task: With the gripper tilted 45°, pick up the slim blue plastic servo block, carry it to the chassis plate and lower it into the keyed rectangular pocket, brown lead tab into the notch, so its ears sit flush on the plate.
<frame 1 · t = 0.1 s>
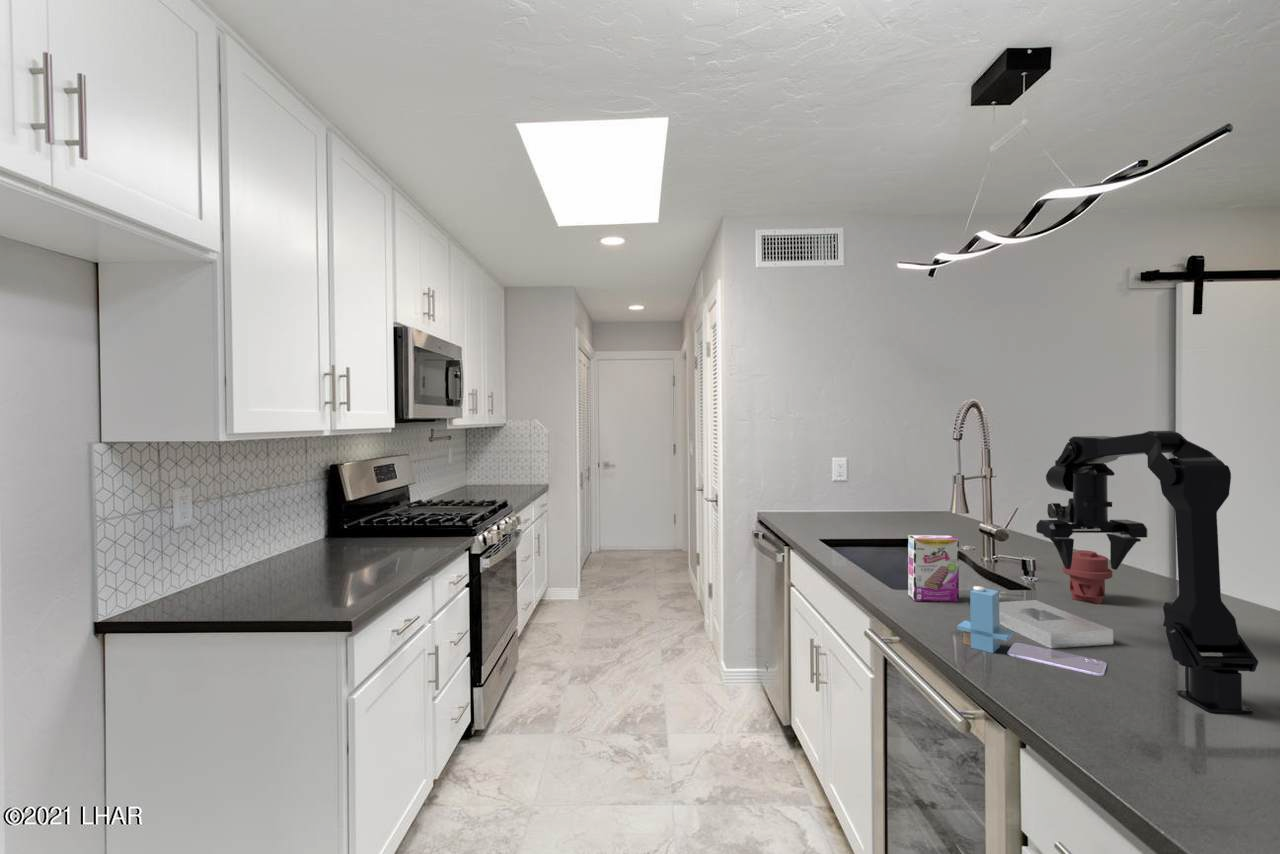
hand: (1090, 569, 121), 15 cm above the worktop, tool pointing down, fingers open, 9 cm apart
candy bar box: (933, 600, 148), on the worktop
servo: (985, 647, 117), on the worktop
mechanical component: (1087, 600, 146), on the worktop
chassis plate: (1042, 628, 126), on the worktop
mobile phone: (1055, 661, 111), on the worktop
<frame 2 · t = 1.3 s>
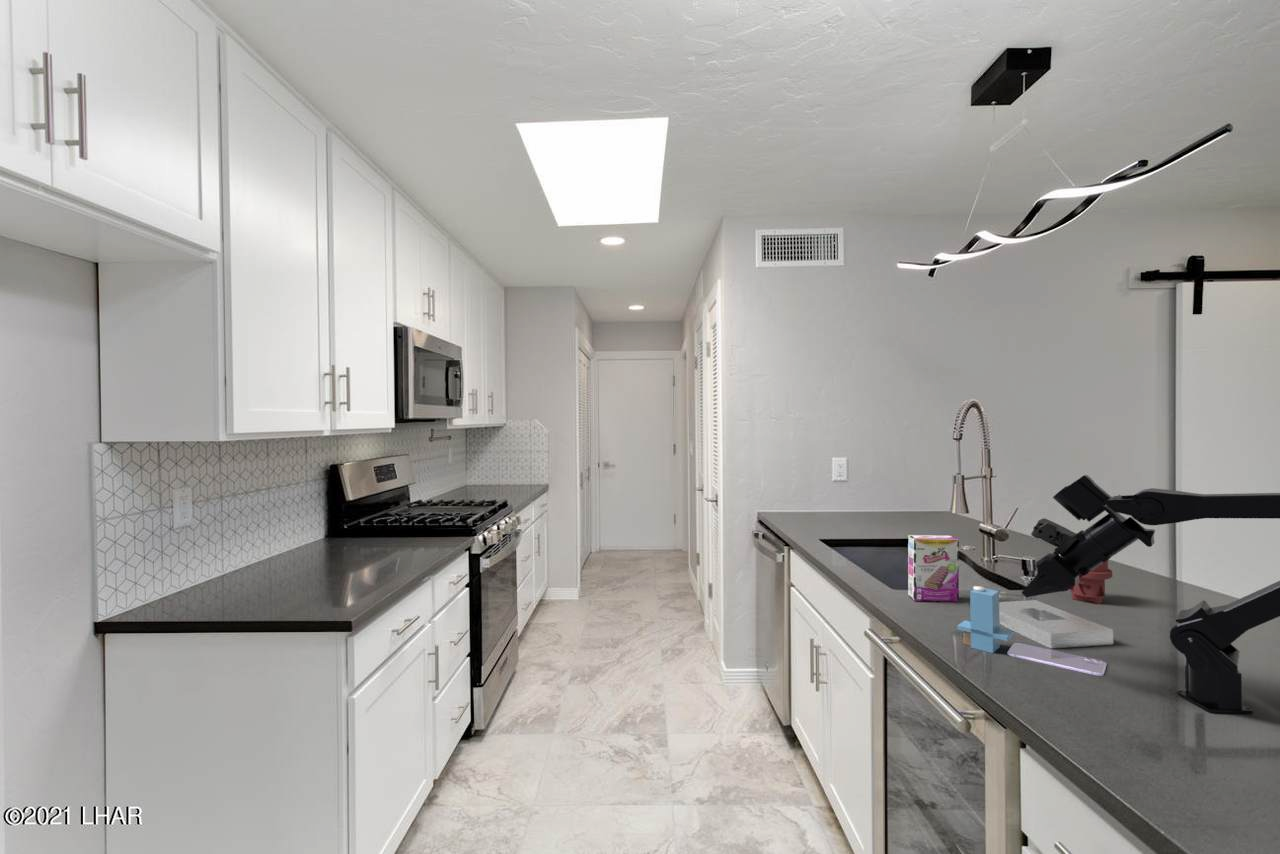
hand: (1030, 589, 111), 13 cm above the worktop, tool tilted 45°, fingers open, 9 cm apart
nothing on the worktop moved.
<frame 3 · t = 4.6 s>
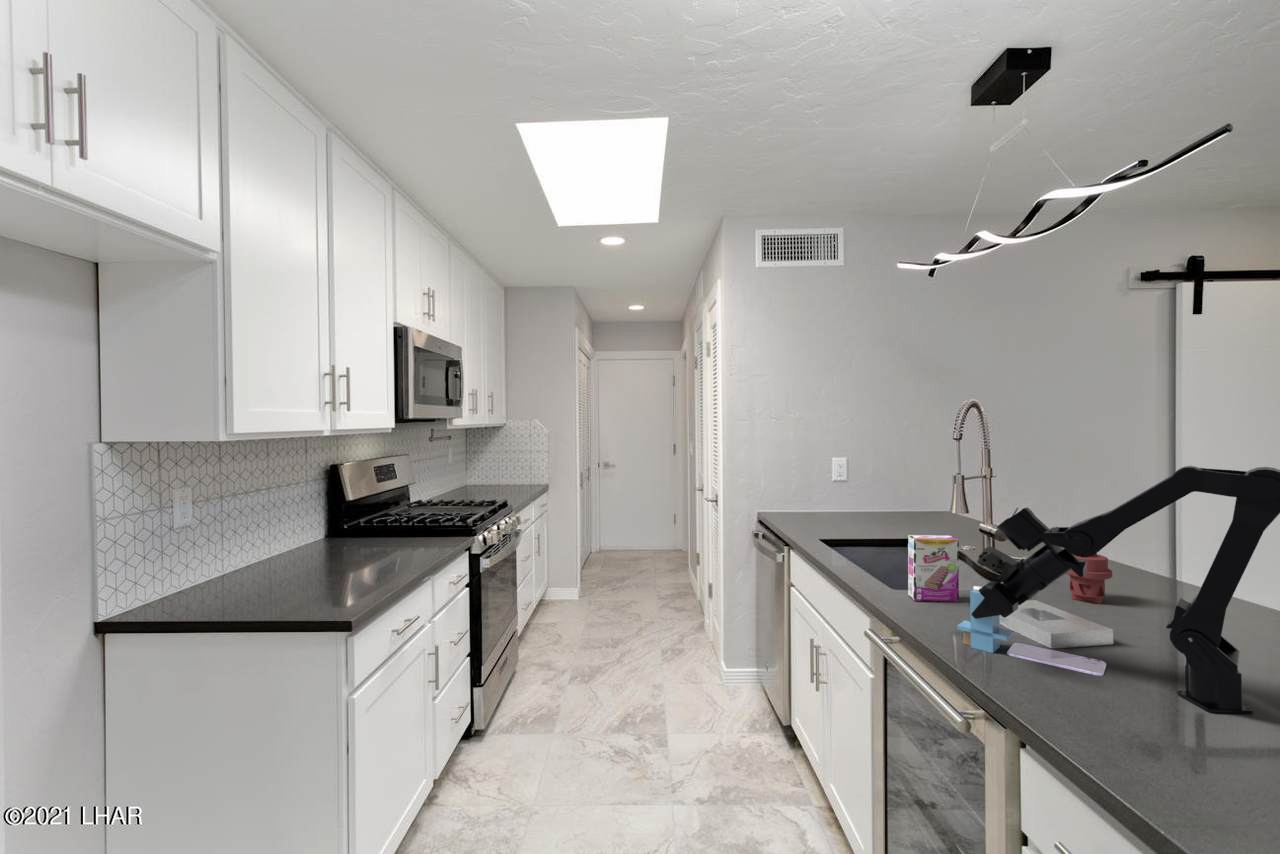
hand: (977, 613, 118), 7 cm above the worktop, tool tilted 45°, fingers closed on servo, 4 cm apart
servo: (985, 647, 117), on the worktop, touching gripper
everything else where it was.
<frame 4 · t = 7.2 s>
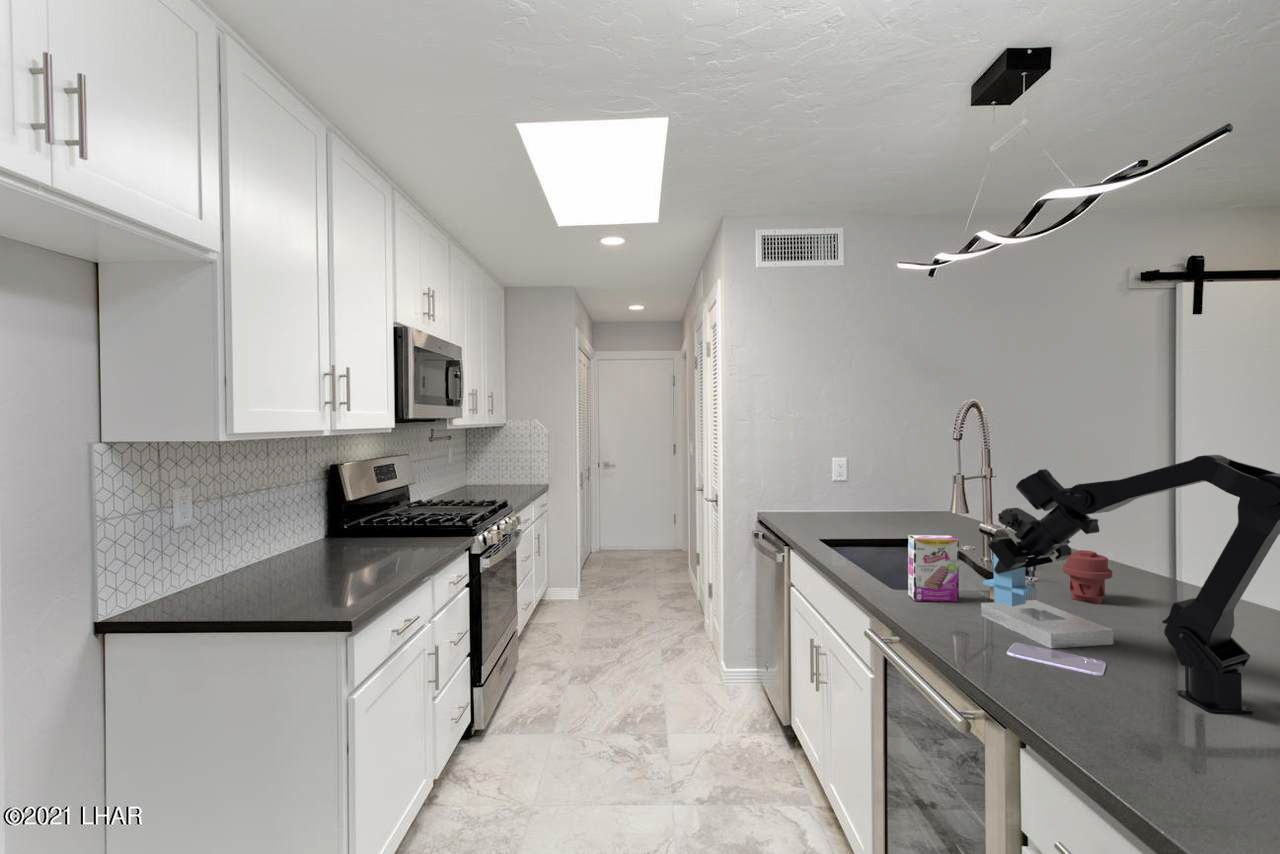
hand: (1003, 570, 125), 14 cm above the worktop, tool tilted 45°, fingers closed on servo, 4 cm apart
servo: (1009, 602, 123), point 7 cm above the worktop, touching gripper
everything else where it was.
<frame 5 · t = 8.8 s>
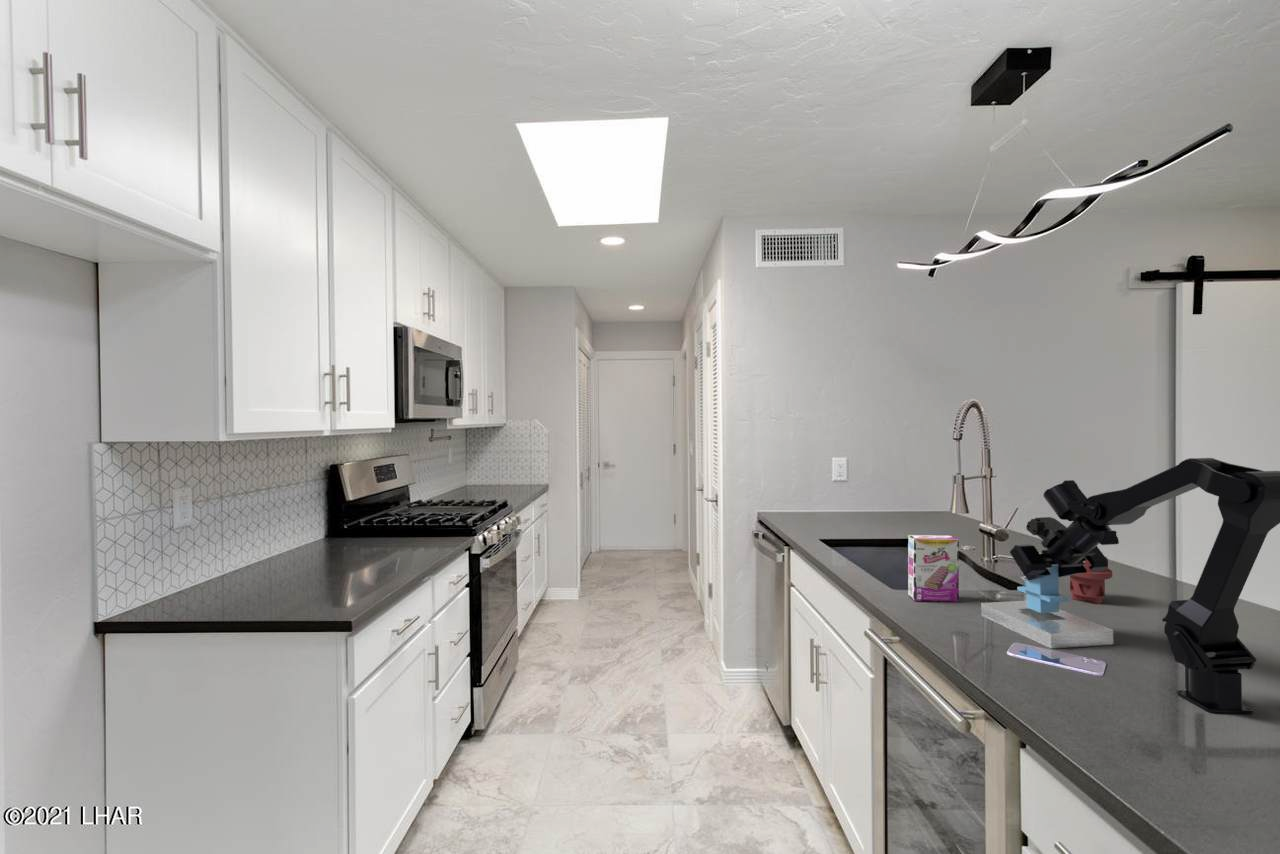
hand: (1037, 578, 128), 11 cm above the worktop, tool tilted 45°, fingers closed on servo, 4 cm apart
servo: (1042, 609, 126), point 4 cm above the worktop, touching gripper
everything else where it was.
when the fingers open (7 cm above the worktop, at t = 10.3 s): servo stays where it is, resting in chassis plate.
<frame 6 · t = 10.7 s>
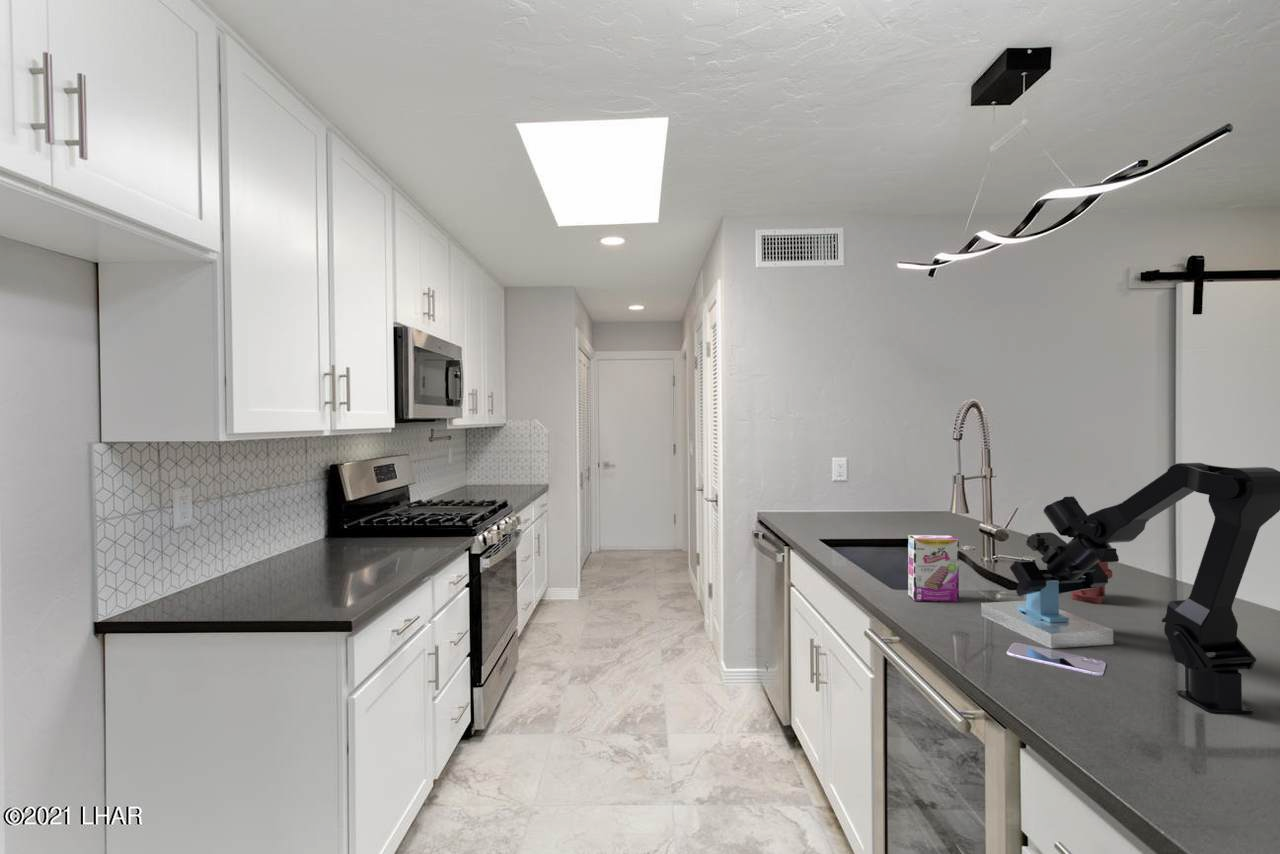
hand: (1037, 593, 128), 8 cm above the worktop, tool tilted 45°, fingers open, 9 cm apart
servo: (1042, 629, 126), resting in chassis plate
everything else where it was.
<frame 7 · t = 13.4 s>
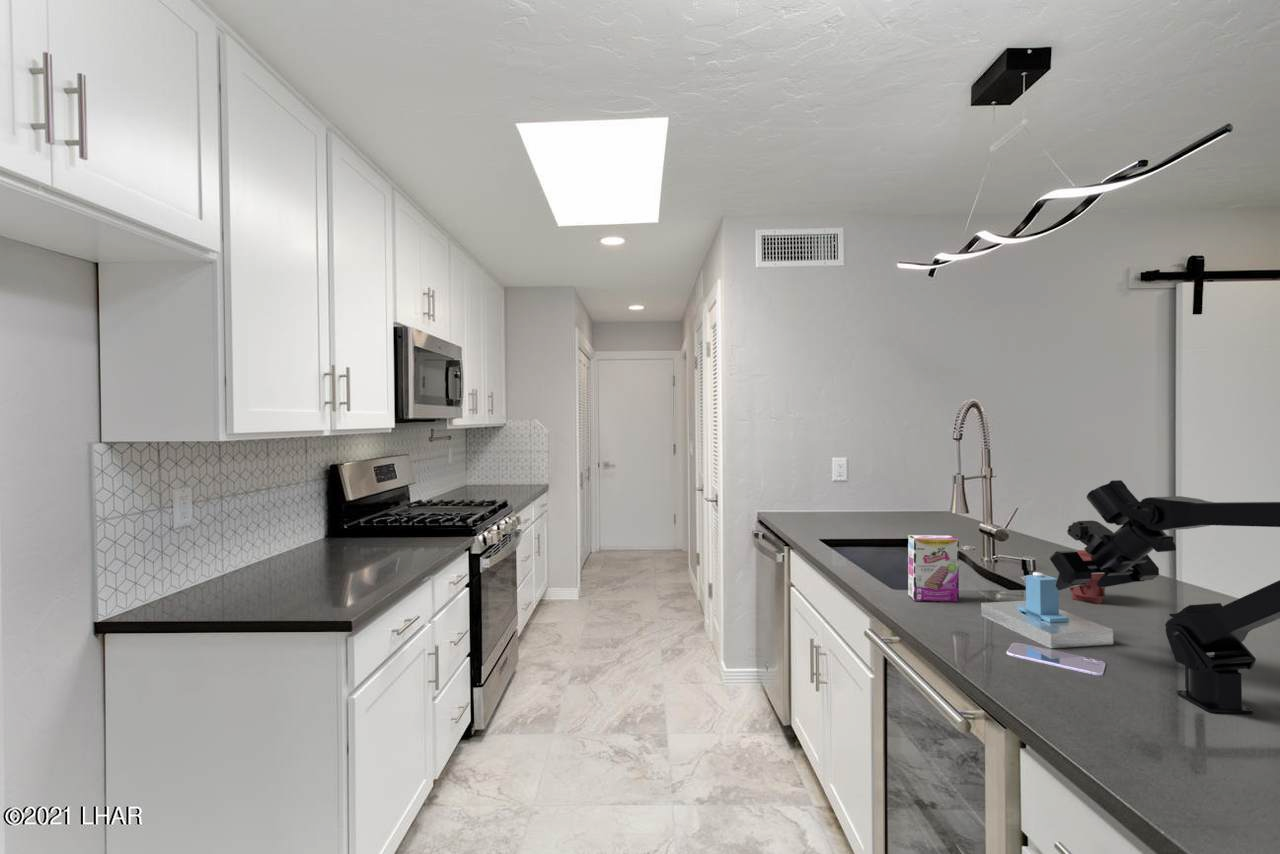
hand: (1078, 587, 117), 12 cm above the worktop, tool tilted 45°, fingers open, 9 cm apart
nothing on the worktop moved.
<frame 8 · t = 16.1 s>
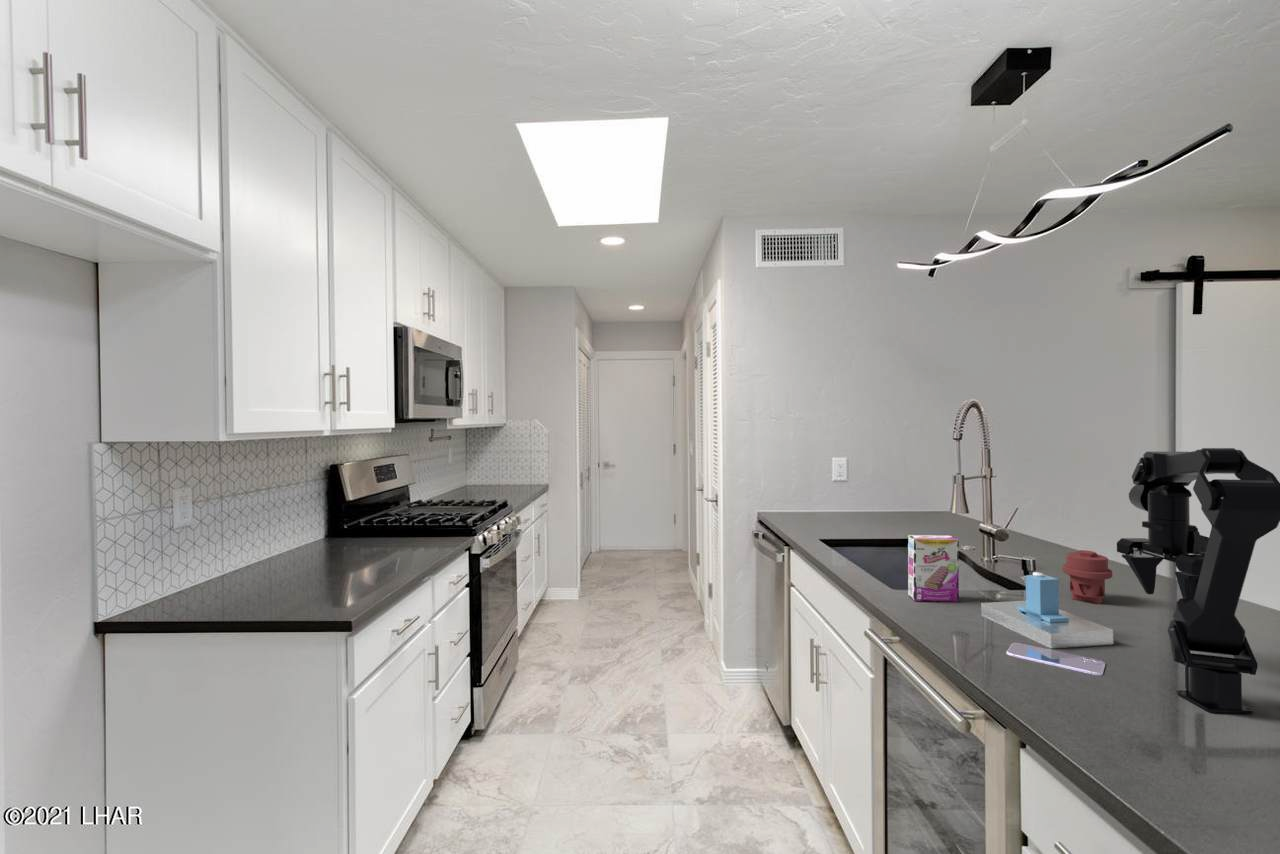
hand: (1169, 601, 107), 12 cm above the worktop, tool pointing down, fingers open, 9 cm apart
nothing on the worktop moved.
at the end: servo 0.0 cm off-centre on the chassis plate, point 0.0 cm above the chassis plate's base; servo tilted 0°; the gripper is holding nothing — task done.
